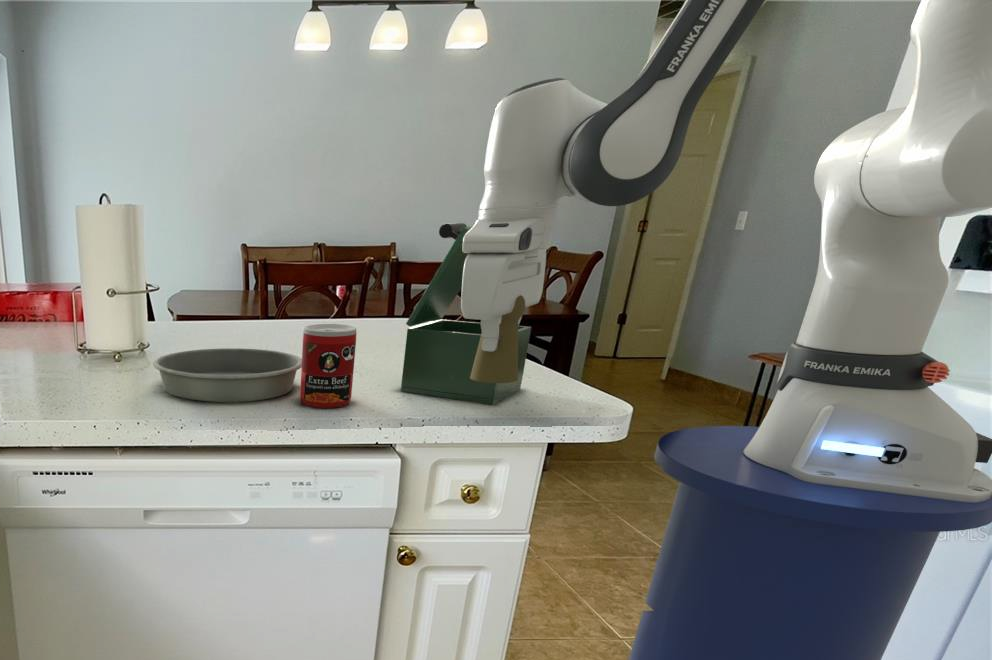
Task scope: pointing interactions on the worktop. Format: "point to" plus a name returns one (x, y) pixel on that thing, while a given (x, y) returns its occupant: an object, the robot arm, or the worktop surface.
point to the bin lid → (443, 279)
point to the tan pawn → (501, 351)
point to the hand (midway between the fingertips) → (498, 347)
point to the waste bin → (453, 362)
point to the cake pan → (228, 374)
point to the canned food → (327, 365)
